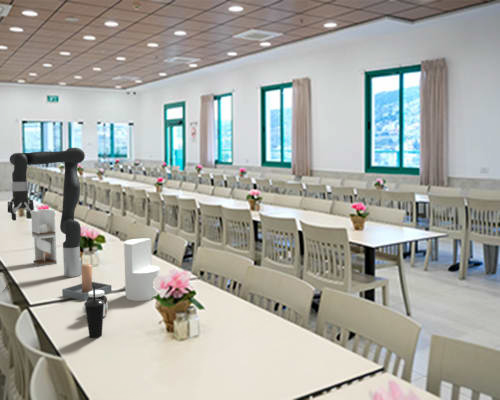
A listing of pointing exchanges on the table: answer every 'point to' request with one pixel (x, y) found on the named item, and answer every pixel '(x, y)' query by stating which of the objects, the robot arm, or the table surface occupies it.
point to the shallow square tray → (77, 293)
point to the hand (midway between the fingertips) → (21, 219)
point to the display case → (44, 236)
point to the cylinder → (139, 270)
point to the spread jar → (98, 295)
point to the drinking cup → (94, 316)
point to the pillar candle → (86, 278)
